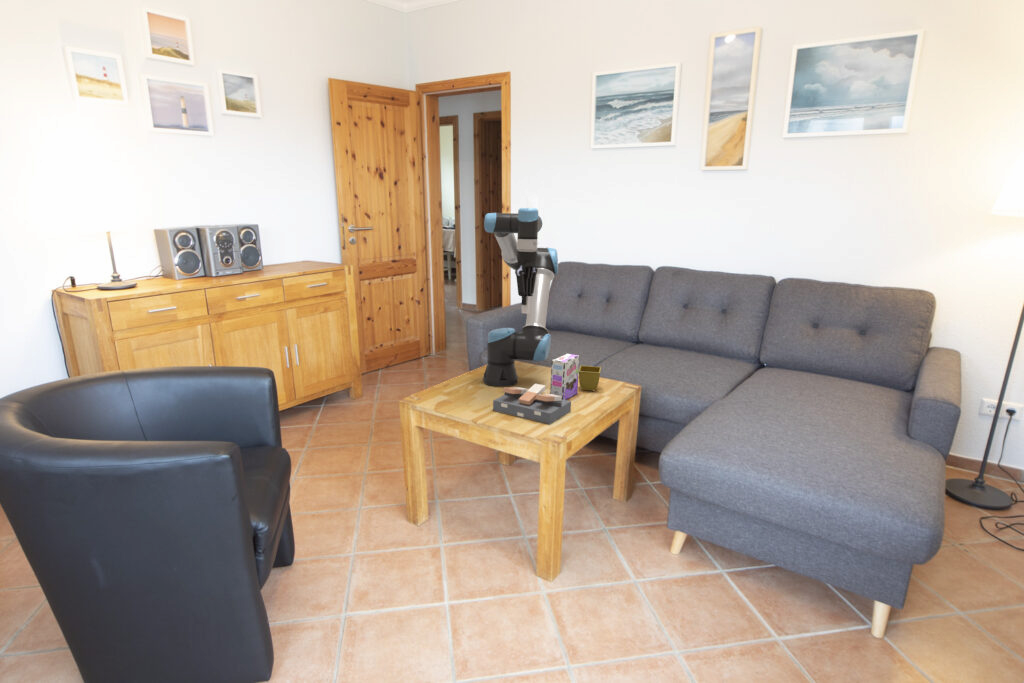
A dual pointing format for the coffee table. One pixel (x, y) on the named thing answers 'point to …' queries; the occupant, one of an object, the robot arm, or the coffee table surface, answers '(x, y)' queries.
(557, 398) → the rocker right
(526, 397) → the rocker middle
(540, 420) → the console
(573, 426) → the coffee table surface
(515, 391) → the rocker left
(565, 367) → the candy box
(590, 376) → the flower pot
